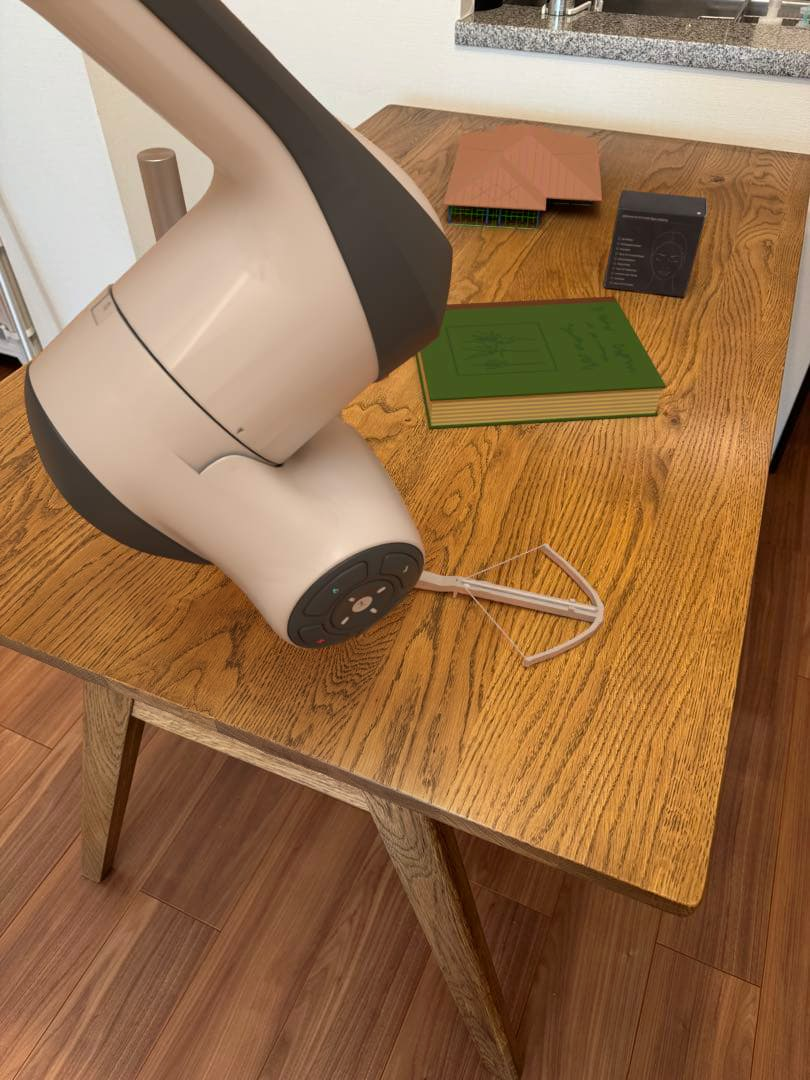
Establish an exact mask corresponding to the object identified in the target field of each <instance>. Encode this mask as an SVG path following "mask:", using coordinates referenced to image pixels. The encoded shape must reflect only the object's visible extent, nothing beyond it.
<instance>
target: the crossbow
mask: <svg viewBox="0 0 810 1080" xmlns="http://www.w3.org/2000/svg"><path fill="white" fill-rule="evenodd" d="M540 548H541V551H542V552H543V554H545V556H547V557H548V558H549V559H551V560H552V561H553V562H554V563H556V564H557V565H558V566H559V567H560V568H561V569H562V570H563V571H564V572H565V573H566V574H568V576H569V577H570V578H571V579H572V580H573V581H574V582H575V583H576V584H577V585H578V586H579V588H580V589H581V590H582V591H583V592H584V594H585V595H586V596H587V598H589V600H590V602H591V604H588V603H587V604H586V603H583V602H577V601H576V599H575V598H569V599H564V598H560V597H555V596H550V595H547V594H541V593H538V592H533V591H527V590H524V589H520V588H519V589H518V588H514V587H510V586H504V585H500V584H496V583H493V582H492V581H491V582H490V581H485V580H479V579H478V580H477V579H473V578H472V577H475V576H477V575H479V574H482V573H484V572H487V571H489V570H491V569H493V568H496V567H498V566H500V565H504V564H505V563H508V562H510V561H512V560H514V559H517V558H519V557H521V556H523V555H526V554H529V553H532V552H533V551H535V550H538V549H540ZM414 588H415V589H420V590H421V589H422V590H428V591H435V592H453V593H452V599H456V597H457V595H458V593H459V594H461V595H467V596H471V598H472V599H473V600H474V601H475V603H477V605H478V606H479V607H480V608H481V609H482V610H483V612H484V614H486V615H487V616H488V618H489V619H490V620H491V621H492V622H493V624H495V626H496V627H497V628H498V629H499V630H500V631H501V633H502V634H503V635H504V637H506V638H507V640H508V641H509V642H510V643H511V644H512V646H514V648H515V649H516V650H517V651H518V653H519V654H520V655H521V656H522V657H523V658H524V659H523V663H522V667H526V668H529V667H531V666H532V665H534V664H537V663H541V662H544V661H547V660H549V659H552V658H554V657H556V656H558V655H561V654H563V653H565V652H567V651H569V650H571V649H573V648H575V647H577V646H579V645H580V644H581V643H583V642H584V641H586V640H588V639H590V638H591V637H592V636H593V635H594V634H595V633H596V632H597V631H598V630H599V629H600V627H601V626H602V624H603V621H604V619H605V617H604V610H605V606H604V603H603V602H602V601H601V598H600V596H599V595H598V594H599V593H597V591H595V589H594V588H593V587H592V586H591V584H589V582H588V581H587V580H586V578H585V577H584V576H583V575H582V574H581V573H579V571H577V570H576V569H575V567H573V566H572V565H571V563H569V562H568V561H567V560H566V559H564V558H563V557H562V556H561V554H559V553H558V552H556V551H555V550H554V549H552V548H551V546H550V545H549V544H548V543H542V545H539V546H537V547H535V548H532V549H530V550H528V551H526V552H523V553H521V554H517V555H516V556H513V557H511V558H509V559H507V560H504V561H502V562H499V563H497V564H495V565H493V566H490V567H488V568H485V569H483V570H480V571H479V572H476V573H474V574H471V575H469V576H467V577H464V576H459V575H441V574H438V573H434V572H430V571H427V570H424V569H423V572H422V574H421V577H420V579H419V580H418V582H417V584H416V585H415V586H414ZM414 588H413V589H414ZM475 597H477V598H481V599H486V600H490V601H495V602H499V603H504V604H509V605H513V606H517V607H521V608H527V609H530V610H531V609H532V610H535V611H540V612H544V613H548V614H554V615H558V616H562V617H567V618H571V619H575V620H581V621H584V622H590V623H592V624H591V625H590V626H589V627H588V628H586V630H584V631H583V632H580V633H579V634H578V635H576V636H574V637H572V639H569V640H567V641H565V642H563V643H561V644H559V645H557V646H555V647H553V648H551V649H548V650H545V651H542V652H539V653H536V654H534V655H531V656H527V657H526V656H525V655H524V653H523V652H522V651H521V650H520V649H519V648H518V647H517V645H516V644H515V643H514V642H513V641H512V639H510V637H509V635H507V634H506V633H505V631H504V630H503V629H502V628H501V627H500V626H499V625H498V623H497V622H496V621H495V620H494V619H493V617H492V616H491V615H490V614H489V613H488V611H487V610H486V609H485V608H484V607H483V606H482V604H480V602H479V601H478V600H477V599H476V598H475Z"/></svg>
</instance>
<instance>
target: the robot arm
mask: <svg viewBox="0 0 810 1080" xmlns="http://www.w3.org/2000/svg"><path fill="white" fill-rule="evenodd" d="M19 1H20V2H21V3H23V4H24V5H26V6H27V7H29V8H30V9H31V10H32V11H34V13H36V14H37V15H38V16H40V17H41V18H42V19H43V20H45V21H46V22H47V23H48V24H50V26H52V27H53V28H55V30H57V31H58V32H59V33H60V34H62V36H64V37H65V38H66V39H67V40H68V41H70V42H71V43H72V44H73V45H74V46H76V47H77V48H78V49H79V50H80V51H82V52H83V54H85V55H86V56H88V58H90V59H91V60H92V61H93V62H95V63H96V64H97V65H98V66H99V67H101V68H102V69H103V70H104V71H105V72H106V73H108V74H109V75H110V76H111V77H113V78H114V79H115V80H116V81H117V82H119V83H120V84H121V85H122V86H123V87H125V89H127V90H128V91H129V92H130V93H131V94H132V95H134V96H135V98H137V99H139V100H140V101H141V102H142V103H143V104H144V105H146V106H147V107H148V108H149V109H150V110H151V111H153V112H154V113H155V114H157V116H158V117H160V118H161V120H163V121H164V122H166V123H167V124H168V125H169V126H171V127H172V128H173V129H174V130H175V131H176V132H177V133H179V135H181V136H182V137H183V138H185V139H186V140H187V141H189V142H190V143H191V144H192V145H193V146H194V147H196V148H197V149H198V150H199V151H200V152H201V153H203V154H204V155H205V156H206V157H208V159H209V160H210V161H211V163H212V166H213V174H212V178H211V180H210V184H209V186H208V188H207V189H206V191H205V193H204V194H203V195H202V197H201V198H200V199H199V200H198V201H197V202H196V203H195V204H194V205H193V206H192V207H191V209H189V210H188V211H187V213H186V214H185V215H184V216H183V217H182V218H181V219H180V220H179V221H178V222H177V223H176V224H175V225H174V226H173V227H172V228H171V229H170V230H169V231H168V232H167V233H166V234H165V235H164V236H163V237H161V238H160V239H159V240H158V241H157V242H156V241H155V243H154V244H153V245H152V246H151V247H150V248H149V249H148V250H147V251H146V252H144V254H142V255H141V256H140V258H138V259H137V261H135V262H134V263H133V264H132V265H131V266H130V267H129V268H128V269H127V270H126V271H125V272H124V273H123V274H121V276H120V277H119V278H118V279H117V280H115V282H113V283H110V284H108V285H106V287H104V289H103V290H102V291H100V293H99V294H98V295H96V296H95V297H94V298H93V299H92V300H91V301H90V302H89V303H88V304H87V305H86V306H85V307H84V308H83V309H82V310H81V311H80V312H79V313H78V314H77V315H76V316H75V317H74V318H73V319H72V320H71V321H70V322H69V323H68V324H67V325H66V326H65V327H64V328H62V330H61V331H60V332H59V333H58V334H57V335H56V336H55V337H53V339H52V340H51V341H50V342H49V343H48V344H47V345H46V346H45V347H44V348H43V349H42V350H41V351H40V353H39V354H38V355H37V356H36V357H35V359H33V361H30V362H29V363H28V364H27V365H26V369H25V375H24V383H23V384H24V385H23V391H24V392H23V393H24V397H23V398H24V406H25V413H26V416H27V417H26V418H27V423H28V425H29V429H30V433H31V437H32V439H33V442H34V445H35V448H36V450H37V454H38V456H39V459H40V461H41V463H42V466H43V468H44V470H45V471H46V473H47V475H48V477H49V479H50V480H51V481H52V483H53V485H54V486H55V488H56V489H57V490H58V492H59V493H60V495H61V496H62V497H63V499H64V500H65V501H66V502H67V503H68V505H69V506H70V507H71V508H72V509H73V510H74V511H75V512H76V513H77V514H78V515H79V516H80V517H81V518H82V519H83V520H85V522H87V523H89V524H90V525H91V526H93V528H95V529H97V530H98V531H100V532H101V533H102V534H104V535H106V536H107V537H109V538H111V539H112V540H114V541H116V542H118V543H119V544H121V545H123V546H125V547H128V548H131V550H132V549H133V550H135V551H138V552H141V553H144V554H146V555H150V556H155V557H159V558H165V559H169V560H172V561H177V562H182V563H189V564H193V565H199V566H216V568H217V569H219V570H220V571H221V572H222V573H224V574H225V575H226V576H227V577H228V578H229V579H230V581H232V582H233V583H234V584H235V586H237V587H238V588H239V589H240V590H241V591H242V592H243V594H245V596H246V597H247V598H248V599H249V601H250V602H251V603H252V604H253V606H254V607H255V608H256V610H257V611H258V612H259V614H260V615H261V616H262V618H263V619H264V620H265V622H266V623H267V625H269V627H270V628H271V629H272V631H273V632H274V633H275V634H276V635H277V636H278V637H279V638H281V639H282V640H284V641H285V642H286V643H288V644H290V645H292V646H294V647H296V648H299V649H303V650H318V649H325V648H330V647H334V646H338V645H340V644H342V643H345V642H348V641H350V640H352V639H355V638H359V637H360V636H362V635H363V634H365V633H367V632H368V631H369V630H371V628H373V627H375V626H376V625H377V624H379V623H380V622H381V621H382V620H384V619H385V618H386V617H387V616H388V615H389V614H391V613H392V612H393V611H394V610H395V609H396V608H397V607H398V606H399V605H400V604H402V602H404V601H405V600H406V599H407V598H408V597H409V596H410V595H411V593H412V592H413V590H414V586H415V585H416V584H417V582H418V580H419V579H420V577H421V574H422V572H423V570H424V568H425V563H426V550H425V546H424V542H423V540H422V537H421V535H420V532H419V529H418V527H417V524H416V522H415V520H414V518H413V516H412V514H411V513H410V509H409V508H408V506H407V504H406V502H405V500H404V498H403V496H402V494H401V493H400V490H399V489H398V488H397V486H396V484H395V482H394V481H393V479H392V477H391V475H390V474H389V472H388V470H387V469H386V467H385V465H384V464H383V463H382V462H381V460H380V458H379V456H378V455H377V453H375V450H373V448H372V447H371V445H370V444H369V443H368V441H367V440H366V438H365V437H364V436H363V435H362V434H361V433H360V432H359V431H358V430H357V428H355V427H354V426H352V425H351V424H350V423H348V422H346V421H345V420H344V417H343V413H342V411H343V410H344V409H345V408H346V407H347V406H348V405H350V404H351V403H352V402H353V401H354V400H355V399H356V398H358V396H360V395H361V394H362V393H363V392H364V391H365V390H367V388H369V387H370V385H372V384H377V383H380V382H382V381H384V380H386V379H388V378H389V377H390V374H391V373H393V372H394V371H396V370H397V369H398V368H399V367H401V366H403V365H404V364H405V363H407V362H408V361H409V360H410V359H412V358H413V357H415V355H416V354H417V353H418V352H420V351H421V350H422V349H424V348H425V347H426V346H428V345H429V344H430V343H432V342H433V341H434V340H436V339H437V338H438V337H439V334H440V330H441V326H442V322H443V319H444V315H445V310H446V306H447V304H448V300H449V294H450V289H451V284H452V283H451V282H452V273H453V261H454V260H453V259H454V258H453V255H454V254H453V253H454V248H453V245H452V244H451V242H450V241H449V239H448V237H447V235H446V232H445V230H444V227H443V224H442V222H441V220H440V218H439V216H438V214H437V212H436V210H435V209H434V207H433V205H432V204H431V203H430V200H429V199H428V198H427V197H426V195H425V194H424V192H423V191H422V190H421V188H420V187H419V186H418V185H417V184H416V182H415V181H414V180H413V178H411V176H410V175H409V174H408V173H407V172H406V171H405V170H404V169H403V168H402V167H401V166H400V165H399V164H398V163H397V162H395V161H394V159H393V158H391V156H389V155H388V154H387V153H386V152H385V151H384V150H383V149H381V148H380V147H378V146H377V145H376V144H374V143H373V141H370V140H369V139H368V138H367V137H365V136H364V135H363V134H362V133H360V132H359V131H357V130H356V129H355V128H353V127H352V126H350V125H349V124H347V123H346V121H343V120H342V119H341V118H339V117H338V116H336V115H335V114H333V112H331V111H330V110H329V109H327V108H326V107H325V106H324V105H323V104H322V103H321V102H320V101H319V100H318V99H317V98H316V97H315V96H314V95H313V94H312V93H311V92H310V91H309V90H308V89H307V88H306V87H305V86H304V85H303V84H302V83H301V82H300V81H299V80H298V79H297V78H296V76H294V74H293V73H291V71H289V70H288V68H286V66H285V65H284V64H282V62H281V61H279V59H278V58H277V57H276V56H275V54H274V53H273V52H272V51H271V50H270V49H269V48H267V47H266V45H265V44H264V43H262V42H261V40H260V39H259V37H257V35H256V34H255V33H253V31H251V29H250V28H249V27H248V26H247V25H246V24H245V23H244V22H243V21H242V20H241V19H240V18H239V17H238V16H237V15H236V14H235V13H234V12H233V11H232V10H231V9H230V7H228V6H227V4H226V3H225V2H224V1H222V0H19Z"/></svg>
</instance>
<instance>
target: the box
mask: <svg viewBox="0 0 810 1080" xmlns="http://www.w3.org/2000/svg"><path fill="white" fill-rule="evenodd" d="M616 209H617V210H616V216H615V222H614V227H613V231H612V237H611V243H610V248H609V253H608V258H607V264H606V270H605V275H604V279H603V283H602V287H604V288H605V289H611V290H612V289H614V290H622V291H629V292H630V291H631V292H634V293H635V292H636V293H644V294H651V295H653V294H654V295H655V294H656V295H664V296H671V297H678V298H685V297H686V296H687V292H688V287H689V283H690V278H691V277H692V276H691V275H692V272H693V267H694V264H695V261H696V256H697V253H698V249H699V245H700V241H701V238H702V234H703V229H704V226H705V223H706V220H707V218H708V202H707V198H706V197H700V196H688V195H680V194H679V195H678V194H669V193H658V192H648V191H637V190H629V189H626V190H625V189H623V190H621V192H620V195H619V199H618V203H617V208H616Z"/></svg>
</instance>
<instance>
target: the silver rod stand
mask: <svg viewBox="0 0 810 1080" xmlns="http://www.w3.org/2000/svg"><path fill="white" fill-rule="evenodd" d="M136 161H137V164H138V168H139V173H140V177H141V182H142V186H143V190H144V194H145V199H146V203H147V207H148V212H149V216H150V220H151V225H152V229H153V233H154V239H155V243H156V242H157V241H158V240H159V239H160V238H161V237H163V236H164V235H165V234H166V233H167V232H168V231H169V230H170V229H171V228H172V227H173V226H174V225H175V224H176V223H177V222H178V221H179V220H180V219H181V218H182V217H183V216H184V215H185V214H186V213H187V212H188V211H187V210H188V209H187V205H186V200H185V195H184V190H183V184H182V180H181V175H180V170H179V169H180V168H179V165H178V160H177V154H176V151H175V150H174V149H172V148H168V147H151V148H145V149H143V150H141V151H139V152H138V153H137V154H136Z"/></svg>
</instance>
